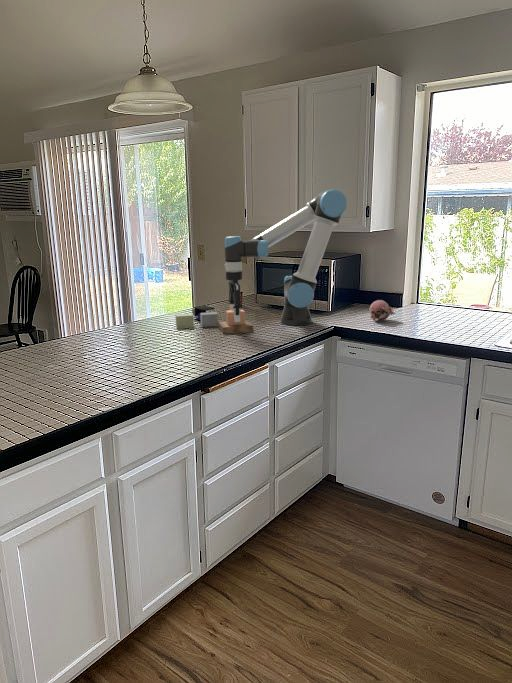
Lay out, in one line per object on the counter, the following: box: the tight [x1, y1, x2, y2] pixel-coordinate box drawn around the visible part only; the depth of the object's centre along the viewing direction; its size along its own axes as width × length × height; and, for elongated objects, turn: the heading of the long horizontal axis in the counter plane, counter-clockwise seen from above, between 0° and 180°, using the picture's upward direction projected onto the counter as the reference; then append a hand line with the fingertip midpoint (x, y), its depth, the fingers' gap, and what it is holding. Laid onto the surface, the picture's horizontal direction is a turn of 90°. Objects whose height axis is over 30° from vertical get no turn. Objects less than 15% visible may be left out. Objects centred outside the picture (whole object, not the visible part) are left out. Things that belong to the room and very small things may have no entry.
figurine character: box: [191, 305, 215, 320], centre depth 266 cm, size 7×8×15 cm
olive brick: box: [175, 313, 195, 330], centre depth 251 cm, size 8×5×6 cm, turn 104°
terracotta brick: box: [225, 308, 246, 325], centre depth 242 cm, size 8×5×6 cm, turn 104°
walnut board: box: [217, 319, 254, 335], centre depth 243 cm, size 14×12×3 cm
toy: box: [368, 299, 396, 323], centre depth 254 cm, size 12×11×15 cm
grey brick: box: [199, 311, 219, 328], centre depth 254 cm, size 8×5×6 cm, turn 104°
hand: (235, 319), depth 243 cm, fingers open, 8 cm apart
